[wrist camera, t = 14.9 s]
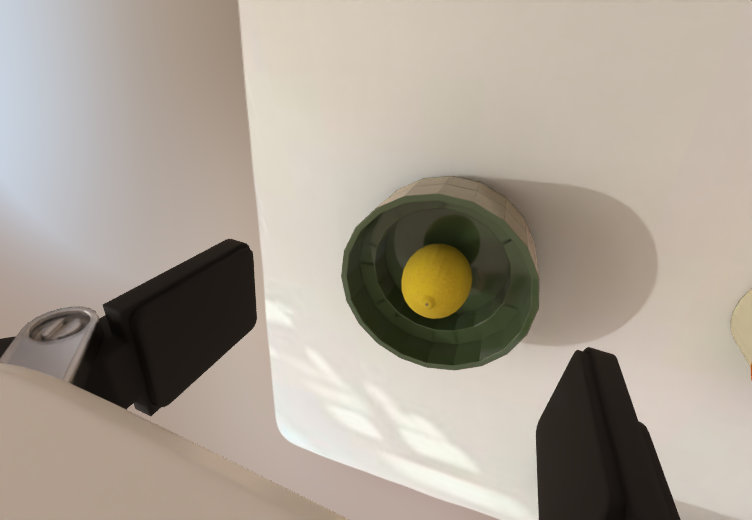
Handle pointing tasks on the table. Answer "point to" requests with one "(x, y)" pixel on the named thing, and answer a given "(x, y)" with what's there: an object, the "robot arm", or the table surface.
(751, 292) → the reusable coffee cup
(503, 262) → the green round bowl
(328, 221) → the table surface
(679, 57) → the table surface
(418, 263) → the lemon
